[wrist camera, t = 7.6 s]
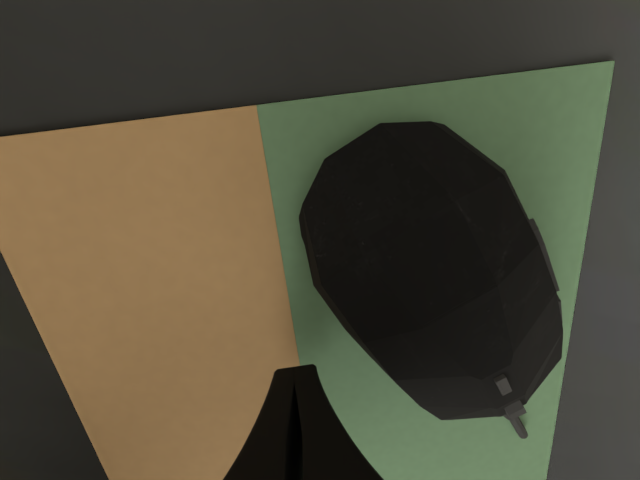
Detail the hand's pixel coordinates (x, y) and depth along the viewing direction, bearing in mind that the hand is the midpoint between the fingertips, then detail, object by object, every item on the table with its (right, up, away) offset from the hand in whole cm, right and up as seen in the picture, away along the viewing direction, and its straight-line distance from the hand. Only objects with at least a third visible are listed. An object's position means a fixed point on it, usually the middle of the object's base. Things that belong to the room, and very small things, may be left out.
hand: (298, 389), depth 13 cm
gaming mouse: (+5, +3, +1) cm, 6 cm away
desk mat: (+1, 0, +2) cm, 2 cm away
